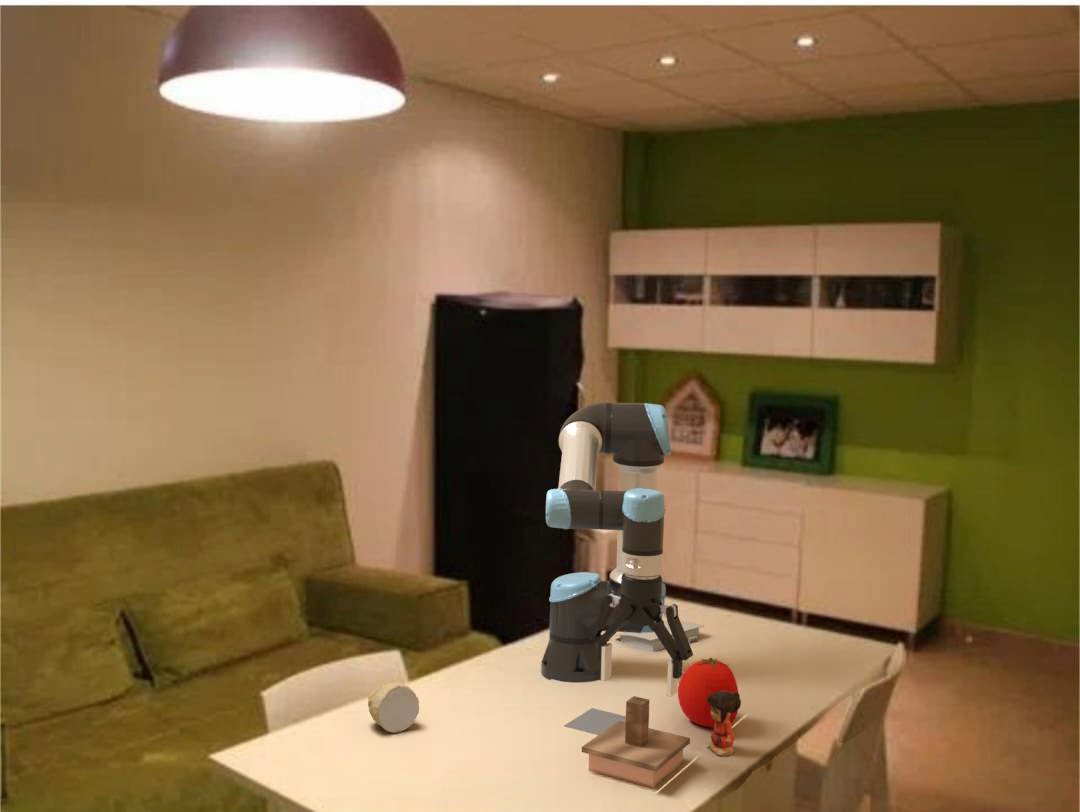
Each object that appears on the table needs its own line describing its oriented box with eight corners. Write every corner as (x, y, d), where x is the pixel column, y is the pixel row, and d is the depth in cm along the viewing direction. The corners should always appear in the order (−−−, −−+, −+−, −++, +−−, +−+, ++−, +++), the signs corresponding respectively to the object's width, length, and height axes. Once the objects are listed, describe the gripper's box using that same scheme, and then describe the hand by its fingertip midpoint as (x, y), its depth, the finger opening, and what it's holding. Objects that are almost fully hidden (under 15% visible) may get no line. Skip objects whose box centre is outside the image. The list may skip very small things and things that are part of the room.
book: (712, 640, 275) (712, 626, 275) (652, 657, 260) (652, 642, 260) (668, 627, 286) (668, 613, 286) (609, 642, 271) (609, 628, 271)
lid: (581, 752, 191) (582, 704, 190) (618, 725, 204) (620, 681, 203) (656, 771, 183) (657, 722, 183) (689, 743, 196) (691, 696, 195)
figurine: (716, 741, 207) (718, 682, 206) (741, 749, 204) (744, 689, 203) (700, 751, 202) (702, 691, 201) (725, 759, 199) (727, 698, 198)
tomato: (746, 723, 217) (748, 657, 216) (726, 741, 207) (729, 672, 206) (689, 710, 223) (691, 646, 222) (668, 728, 214) (670, 660, 212)
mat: (563, 727, 213) (563, 725, 212) (591, 709, 223) (591, 708, 223) (615, 741, 206) (615, 739, 206) (642, 722, 216) (642, 720, 216)
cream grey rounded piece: (379, 709, 202) (364, 674, 210) (376, 746, 207) (362, 711, 215) (425, 698, 206) (409, 664, 214) (422, 735, 211) (406, 701, 219)
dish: (588, 772, 192) (589, 751, 191) (620, 748, 203) (621, 728, 202) (652, 790, 185) (653, 768, 185) (682, 764, 196) (683, 744, 196)
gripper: (572, 568, 194) (570, 678, 196) (696, 589, 181) (692, 707, 183) (592, 560, 201) (589, 666, 203) (713, 580, 188) (709, 694, 190)
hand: (638, 686), depth 193 cm, fingers open, 13 cm apart
